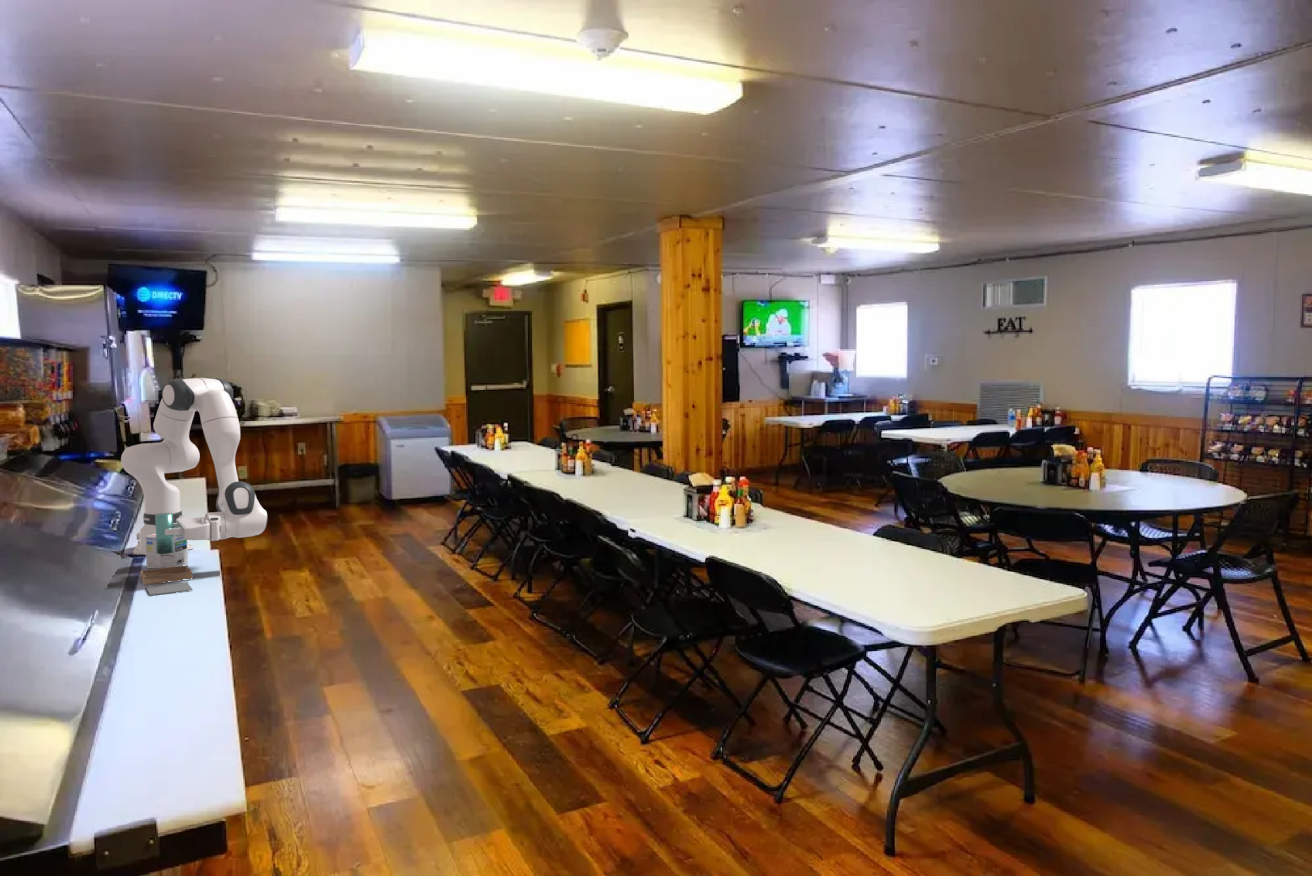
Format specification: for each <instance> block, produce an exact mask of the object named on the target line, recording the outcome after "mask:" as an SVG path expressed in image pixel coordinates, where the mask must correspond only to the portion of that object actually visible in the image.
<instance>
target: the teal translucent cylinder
mask: <svg viewBox="0 0 1312 876" xmlns="http://www.w3.org/2000/svg"><path fill="white" fill-rule="evenodd" d="M155 521H156V553H157V554H169V553H173V552H174V535H165V533H164V530H165V529H168V528H171V529H172V528H173V513H159V514H156V515H155Z"/></svg>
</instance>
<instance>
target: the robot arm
mask: <svg viewBox="0 0 1312 876" xmlns="http://www.w3.org/2000/svg"><path fill="white" fill-rule="evenodd" d="M161 397H162V398H161V400H160V402H159V406H158V408H157V411H156V415H155V418H154V421H153V424H152V425H153V430H154V432H155V433H156V435H158V436H159V437H160V438H162V439H163V440H162V441H160V442H152V443H150V442H147V443H140V444H135V445H130V446H128V447H126V448H125V449H124V451H123V452H122V453H121V457H120V462H121V465H122V468H123V470H124V471H125V473H128V474H129V475H130V476H132V477H133V478H135V479H136V481H137V482H138V484H139V485H140V487H141V490H142V492H143V501H144V502H143V504H144V513H143V517H142V519H143V522H142V523H143V526H142V528H140V529H139V532H137V533H136V540H137V544H136V546H135V548H134V550H133V551H132V554H133V555H144V556H146V536H149V535H153V534H156V521H155V515H156V514H159V513H173V528H172V529H171V528H168V529H165V530H164V533H165V535H182V536H183V537H184V538H185V539H186V540H188V541H206V540H207V541H211V542H216V541H219V540H226V539H228V538H238V539H240V538H248V537H254V536H259V535H260V534H262V533H263V532H264V531H265V530H266V528H267V525H268V521H269V519H268V518H269V517H268V513H267V510H266V509H264V508H263V506H262V505H261V504H260V502H259V499H257V495H256V492H255V489H254V488H253V487H252V485H251V484H250V483H247V482H245V481H239V477H238V472H237V468H236V467H237V466H236V454H237V450H238V447H239V445H240V440H241V425H240V421H239V418H238V417H239V416H238V413H237V409H236V407H235V404H234V402H233V399H234V390H233V387H232V385H231V383H229V382H228V381H227V380H225V379H221V378H206V377H195V378H175V379H171V380H168V381H167V382H165V384H164V386H163V387H162V391H161ZM195 412H198V413H199V418H200V424H201V429H202V430H203V431H202V432H203V435H204V438H205V441H206V443H207V446H208V449H209V452H210V454H211V458H212V461H213V466H214V467H213V468H214V470H215V477H216V482H217V487H218V492H217V497H216V502H215V507H216V510H217V511H214V512H206V513H205V514H204V516H201V517H200V516H193V517H191V516H190V517H189V516H188V517H187V516H186V517H183V516H184V515H183V511H182V510H181V491H180V490H179V488H178V487H177V486H175V484H173V483H172V484H171V483H169V482H167V479H166V478H165V474H171V473H181V472H185V471H188V470H189V471H190V470H192V469H194V468H196V467H197V465H198V464H199V463H200V458H201V457H200V451H199V449H198V447H197V446H196V444H194V443H193V442H192V441H191V440H190V431H191V426H192V423H193V420H194V417H195ZM194 547H195V546H194V545H193V544H190V543H188V551H189V550H193V549H194Z"/></svg>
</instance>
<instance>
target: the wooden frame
mask: <svg viewBox="0 0 1312 876" xmlns="http://www.w3.org/2000/svg"><path fill="white" fill-rule="evenodd" d="M139 574H140V575H139V577H140V578H141V579H140V580H141V582H142V581H143V582H142V584H143V585H144V586H150V585H149V584H151V585H158V584H157V583H160V584H164V583H163V582H168V581H177V582H179V581H178V580H183V579H191V578H192V579H193V571H192V570H191V568H190V567H189V565H187V566H178V567H169V568H159V569H157V568H149V569H142V570H139ZM168 583H169V582H168Z"/></svg>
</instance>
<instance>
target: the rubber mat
mask: <svg viewBox="0 0 1312 876" xmlns="http://www.w3.org/2000/svg"><path fill="white" fill-rule="evenodd" d="M144 586H145V590H146V591H148V592H147V593H148V595H149V597H153V595H155V596H161V595H160V594H163V595H169V594H177V593H176V592H179V593H182V592H181V591H187V592H189V591H188V590H193V588H192V587H191V585H190V583H189V582H187V583H180V582H170V583H162V584H153V585H144Z"/></svg>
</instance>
